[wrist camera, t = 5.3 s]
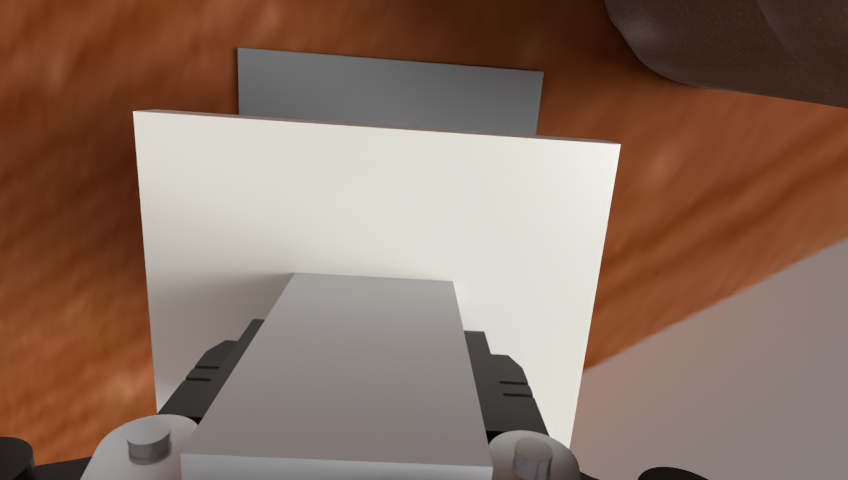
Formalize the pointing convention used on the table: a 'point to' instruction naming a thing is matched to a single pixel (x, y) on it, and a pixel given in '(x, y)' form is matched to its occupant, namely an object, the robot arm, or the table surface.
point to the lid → (365, 285)
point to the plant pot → (743, 44)
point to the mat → (387, 92)
